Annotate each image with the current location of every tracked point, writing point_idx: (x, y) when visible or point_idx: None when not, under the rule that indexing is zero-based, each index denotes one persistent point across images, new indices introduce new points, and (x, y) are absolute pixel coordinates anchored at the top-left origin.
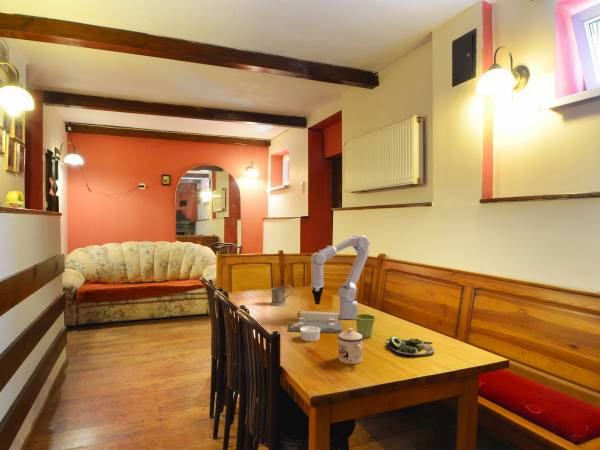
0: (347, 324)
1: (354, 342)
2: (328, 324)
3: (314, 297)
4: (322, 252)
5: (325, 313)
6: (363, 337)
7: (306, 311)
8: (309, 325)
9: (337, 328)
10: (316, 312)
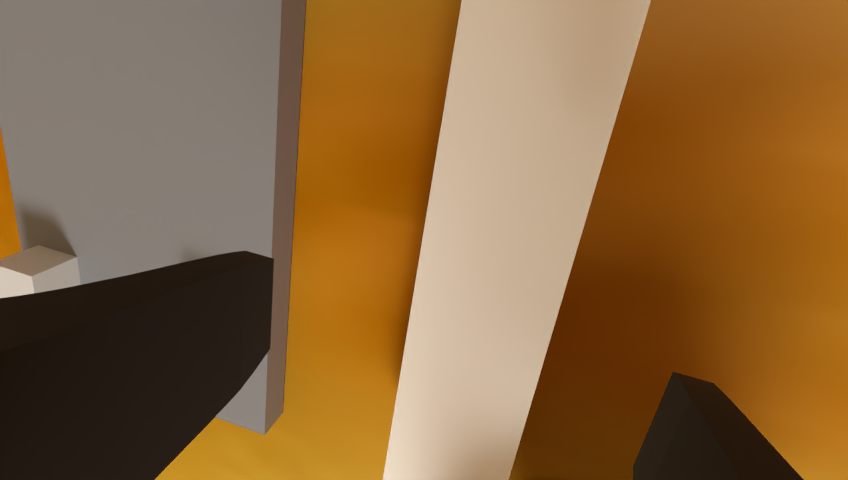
0: (320, 475)
1: None
2: None
3: (19, 312)
4: None
5: (422, 361)
6: None
7: (615, 26)
8: (99, 30)
9: None
10: (499, 232)
